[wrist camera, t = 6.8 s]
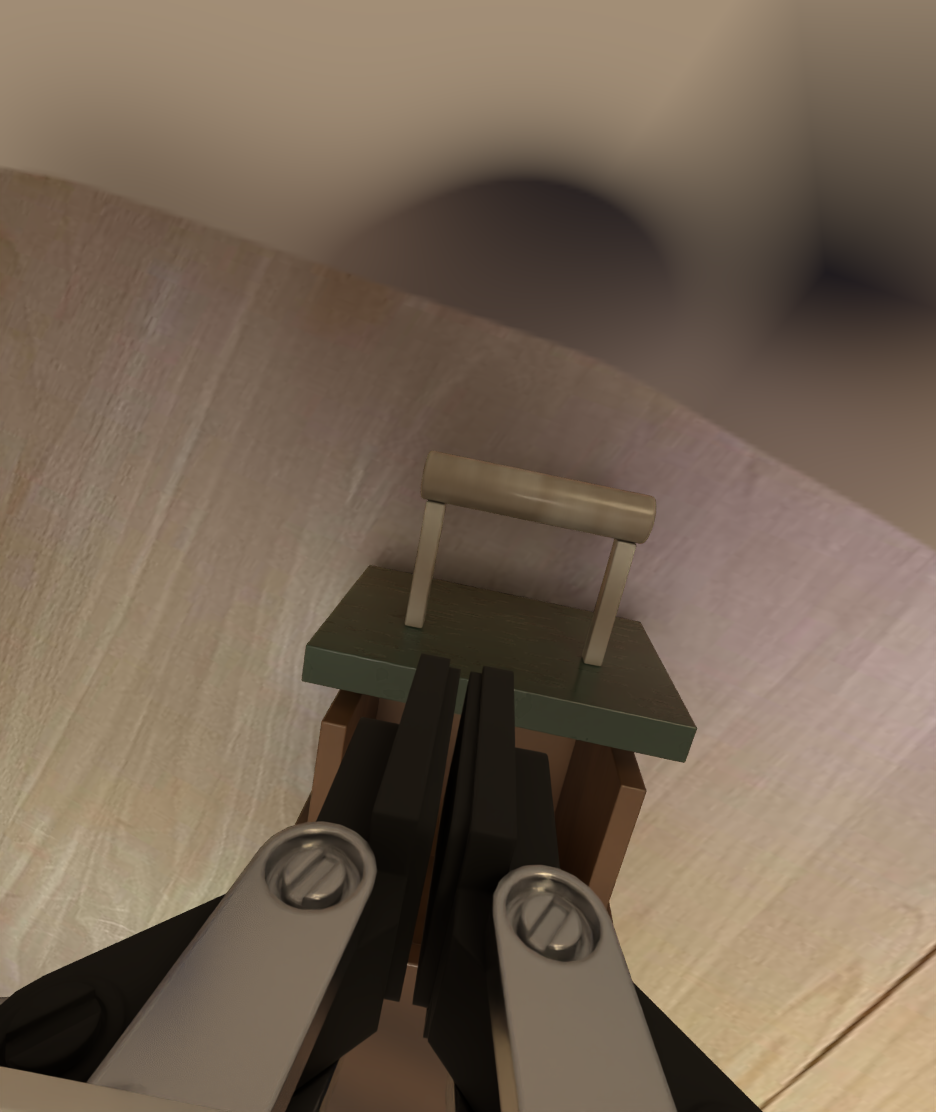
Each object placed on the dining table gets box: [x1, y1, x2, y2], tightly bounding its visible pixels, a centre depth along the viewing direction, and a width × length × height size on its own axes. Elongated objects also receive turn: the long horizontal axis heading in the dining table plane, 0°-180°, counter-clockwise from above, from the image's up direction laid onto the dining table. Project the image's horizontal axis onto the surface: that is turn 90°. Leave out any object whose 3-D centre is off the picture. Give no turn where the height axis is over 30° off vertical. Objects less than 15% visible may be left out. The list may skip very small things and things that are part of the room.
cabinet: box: [295, 791, 613, 1112], centre depth 25 cm, size 15×13×10 cm
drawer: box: [302, 451, 697, 944], centre depth 22 cm, size 19×11×8 cm, turn 169°
